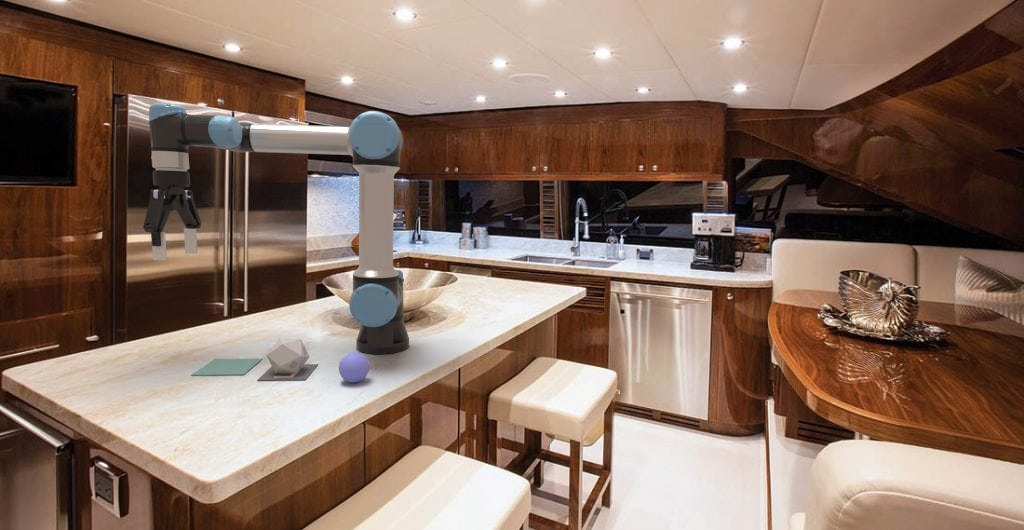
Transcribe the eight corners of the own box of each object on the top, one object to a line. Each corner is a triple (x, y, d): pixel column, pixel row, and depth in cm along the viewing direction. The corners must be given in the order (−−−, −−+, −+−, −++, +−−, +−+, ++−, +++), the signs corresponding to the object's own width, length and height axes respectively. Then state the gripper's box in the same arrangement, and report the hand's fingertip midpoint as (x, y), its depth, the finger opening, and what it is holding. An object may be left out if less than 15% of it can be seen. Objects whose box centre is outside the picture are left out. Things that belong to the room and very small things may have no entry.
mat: (262, 359, 135) (262, 358, 135) (244, 375, 123) (243, 374, 123) (214, 359, 133) (214, 358, 133) (191, 375, 121) (191, 374, 121)
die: (282, 383, 119) (309, 347, 121) (252, 362, 120) (279, 327, 122) (296, 383, 127) (321, 349, 130) (268, 363, 128) (293, 330, 130)
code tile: (317, 365, 131) (317, 364, 131) (305, 380, 121) (305, 379, 121) (273, 365, 130) (273, 364, 130) (257, 381, 119) (257, 379, 119)
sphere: (369, 375, 125) (369, 348, 124) (369, 385, 119) (369, 357, 118) (339, 377, 123) (339, 349, 123) (337, 387, 117) (337, 358, 116)
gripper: (183, 172, 135) (188, 250, 138) (119, 166, 111) (127, 262, 114) (213, 172, 136) (217, 251, 139) (155, 167, 111) (162, 263, 114)
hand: (176, 256), depth 126 cm, fingers open, 13 cm apart
